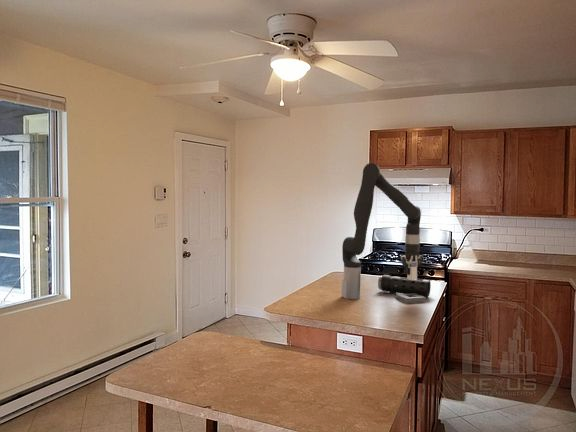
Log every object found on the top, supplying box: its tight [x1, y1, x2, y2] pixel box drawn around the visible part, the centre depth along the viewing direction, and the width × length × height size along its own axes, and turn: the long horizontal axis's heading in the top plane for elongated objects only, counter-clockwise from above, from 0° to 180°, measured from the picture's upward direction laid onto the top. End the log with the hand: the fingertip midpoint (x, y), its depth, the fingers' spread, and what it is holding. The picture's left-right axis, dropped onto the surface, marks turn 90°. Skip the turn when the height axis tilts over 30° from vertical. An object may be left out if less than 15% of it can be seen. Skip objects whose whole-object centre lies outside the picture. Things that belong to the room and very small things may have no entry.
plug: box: [406, 263, 418, 279], centre depth 233 cm, size 3×4×8 cm
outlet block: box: [395, 293, 427, 304], centre depth 234 cm, size 12×10×3 cm
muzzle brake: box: [377, 274, 432, 299], centre depth 248 cm, size 10×28×10 cm, turn 61°
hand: (411, 274), depth 234 cm, fingers closed on plug, 3 cm apart
